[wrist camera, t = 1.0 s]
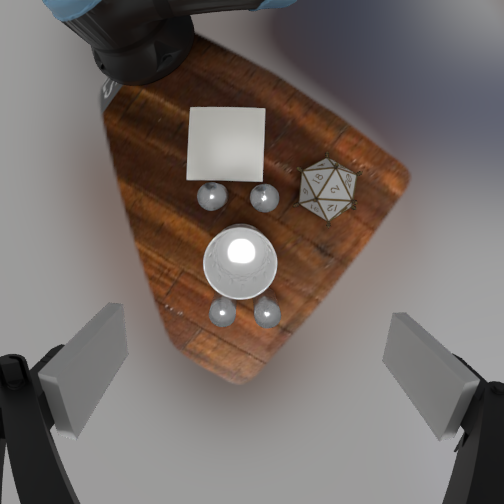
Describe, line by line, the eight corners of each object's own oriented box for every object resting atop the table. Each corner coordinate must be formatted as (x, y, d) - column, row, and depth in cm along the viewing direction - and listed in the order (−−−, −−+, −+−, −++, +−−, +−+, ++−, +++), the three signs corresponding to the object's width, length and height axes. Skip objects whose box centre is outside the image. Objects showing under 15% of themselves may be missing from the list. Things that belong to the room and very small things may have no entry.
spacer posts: (205, 183, 43) (197, 182, 36) (281, 185, 43) (288, 185, 36) (203, 306, 46) (197, 325, 39) (275, 308, 46) (280, 328, 39)
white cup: (215, 278, 45) (207, 302, 35) (209, 221, 44) (199, 230, 34) (271, 273, 45) (279, 296, 35) (268, 216, 44) (274, 224, 34)
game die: (310, 176, 46) (323, 126, 38) (359, 206, 44) (383, 160, 35) (276, 216, 43) (284, 166, 34) (330, 251, 41) (353, 207, 32)
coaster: (191, 108, 41) (190, 107, 40) (265, 109, 41) (265, 108, 40) (187, 180, 43) (186, 179, 42) (262, 181, 43) (262, 181, 42)
